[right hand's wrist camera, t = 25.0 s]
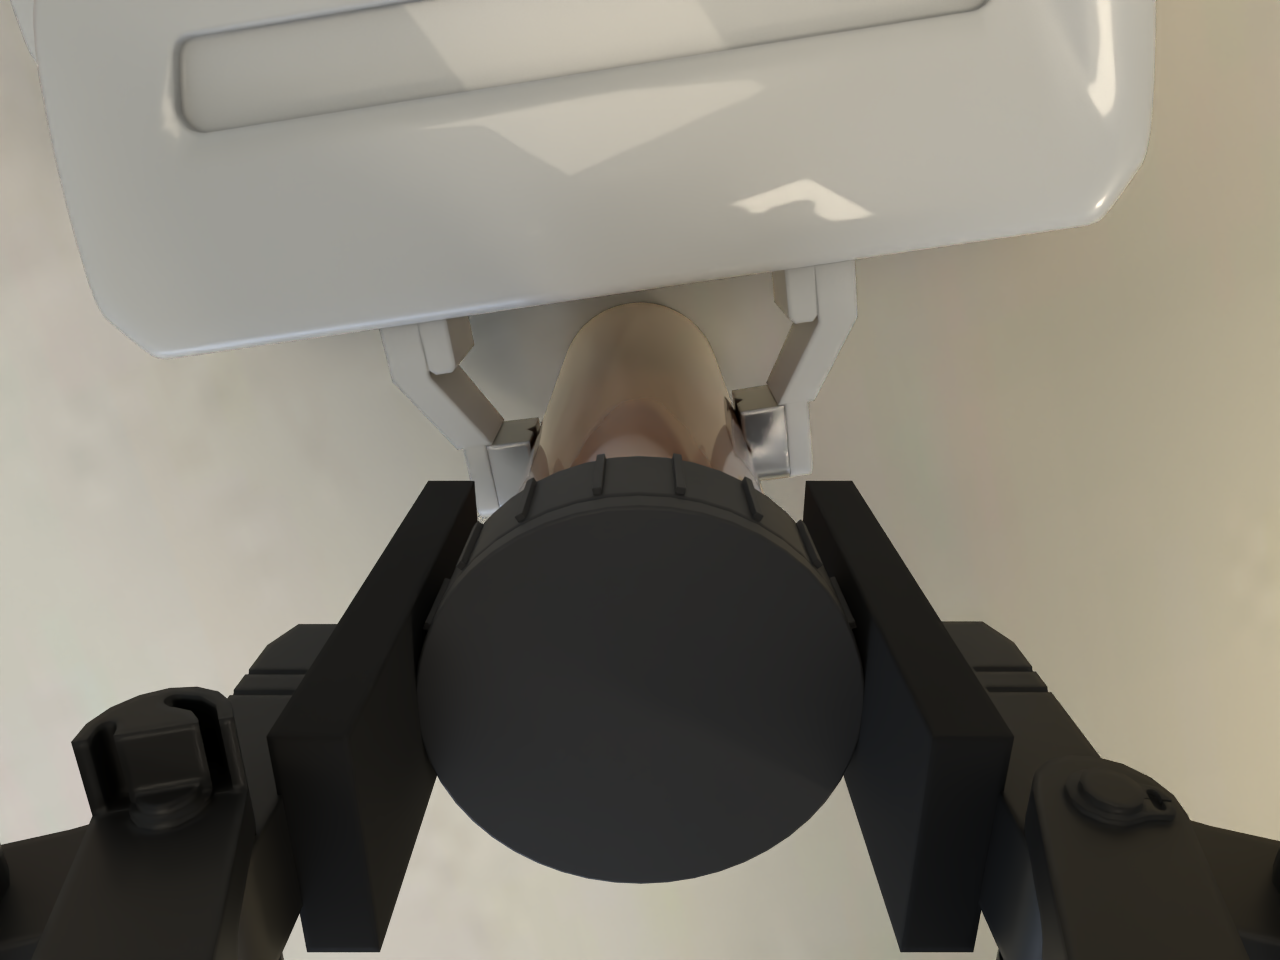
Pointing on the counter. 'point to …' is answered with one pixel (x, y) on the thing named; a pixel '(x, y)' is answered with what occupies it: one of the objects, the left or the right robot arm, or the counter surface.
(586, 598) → the lid
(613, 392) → the jar
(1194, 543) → the counter surface
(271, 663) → the right robot arm
